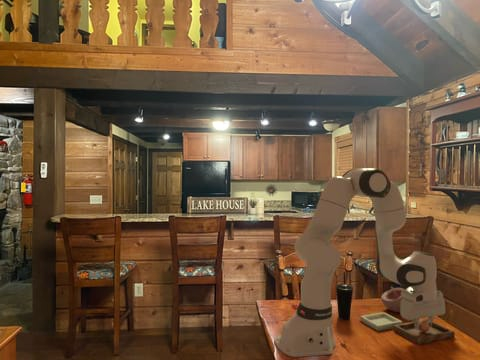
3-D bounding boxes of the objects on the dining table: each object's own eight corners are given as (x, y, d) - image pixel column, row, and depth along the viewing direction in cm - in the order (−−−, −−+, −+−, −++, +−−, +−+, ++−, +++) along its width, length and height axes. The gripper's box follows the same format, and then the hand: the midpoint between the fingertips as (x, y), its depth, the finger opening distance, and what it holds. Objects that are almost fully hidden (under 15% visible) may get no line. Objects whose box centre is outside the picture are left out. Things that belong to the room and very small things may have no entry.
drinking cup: (354, 322, 136) (354, 275, 136) (336, 320, 138) (336, 274, 138) (352, 314, 143) (352, 270, 144) (334, 313, 145) (334, 269, 145)
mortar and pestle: (377, 305, 154) (377, 282, 154) (402, 306, 153) (402, 282, 154) (387, 316, 142) (387, 290, 142) (414, 317, 141) (414, 291, 142)
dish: (419, 345, 117) (419, 339, 117) (394, 330, 128) (394, 325, 128) (454, 337, 123) (454, 331, 123) (426, 324, 134) (427, 319, 134)
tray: (377, 331, 128) (377, 326, 128) (360, 320, 137) (360, 316, 137) (402, 326, 132) (402, 321, 132) (383, 316, 142) (383, 312, 142)
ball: (423, 334, 123) (424, 323, 123) (414, 329, 127) (414, 318, 127) (432, 333, 124) (432, 322, 124) (422, 328, 128) (422, 317, 128)
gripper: (435, 287, 132) (435, 320, 132) (397, 292, 125) (397, 327, 125) (449, 292, 126) (449, 327, 126) (410, 298, 119) (410, 335, 119)
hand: (423, 327), depth 126 cm, fingers closed on ball, 4 cm apart
